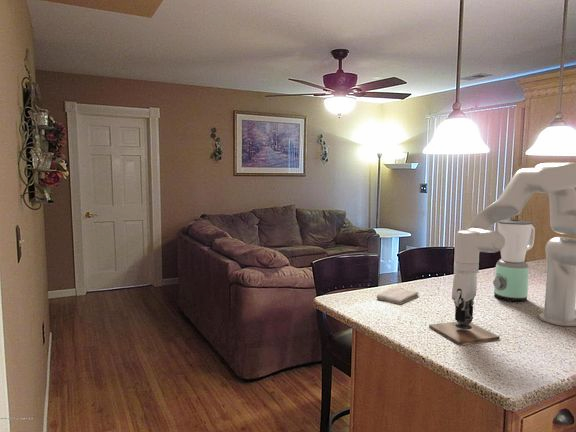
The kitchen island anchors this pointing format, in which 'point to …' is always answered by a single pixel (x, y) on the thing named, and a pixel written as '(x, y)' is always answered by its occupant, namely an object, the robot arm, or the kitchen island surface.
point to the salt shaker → (467, 318)
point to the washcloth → (397, 295)
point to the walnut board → (463, 333)
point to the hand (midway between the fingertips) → (463, 317)
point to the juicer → (513, 260)
